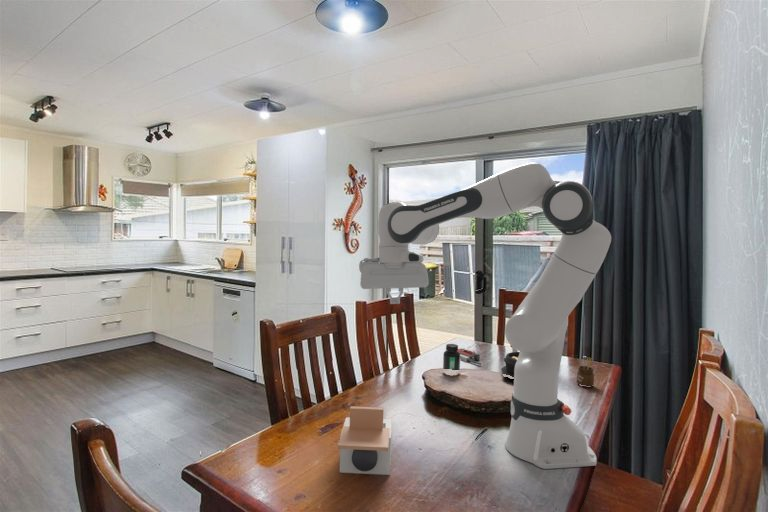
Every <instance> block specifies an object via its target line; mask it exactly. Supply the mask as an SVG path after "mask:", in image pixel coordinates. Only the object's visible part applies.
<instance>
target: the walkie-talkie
mask: <svg viewBox="0 0 768 512" xmlns="http://www.w3.org/2000/svg"><path fill="white" fill-rule="evenodd" d="M458 352H459V353H460V359H461V360H460V361H462V360H463V361H462V362H465V361H466V362H465V363H468V362H470V363H473V364H475V365H476V364H477V365H479V366H481V365H482V363H481V362H478V361H480V360H479V359H480V358H481V355H480V353H476V351H475V350H473V349H470V348H467V349H466V348H465V347H464V348H462V347H461V348H458ZM474 360H475V361H474ZM467 361H468V362H467Z"/></svg>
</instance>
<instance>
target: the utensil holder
mask: <svg viewBox="0 0 768 512" xmlns="http://www.w3.org/2000/svg"><path fill="white" fill-rule="evenodd" d="M584 359H586V362H585V361H582V363H583V364H582V365H579V366H578V369H577V372H576V384H577V383H578V384H581V385H586V386H592V385H593V386H594V383H595V382H594V381H595V376H594V375H595V374H594V368H593V367H591V364H592V357H587V356H584ZM584 362H585V363H584Z"/></svg>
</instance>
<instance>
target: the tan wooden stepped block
mask: <svg viewBox="0 0 768 512" xmlns="http://www.w3.org/2000/svg"><path fill="white" fill-rule="evenodd" d="M349 417H350V426H344V425H343V426H344V427H343V426H342V429H343V430H342V429H341V432H342V433H341V432H340V435H341V436H340V437H339V440H338V443H337V449H338V450H340V449H355V450H377V451H388V446H389V432H390V428H383V419H384V407H374V406H373V407H372V406H354V405H353V406H352V405H351V406H350V407H349Z"/></svg>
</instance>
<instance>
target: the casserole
mask: <svg viewBox="0 0 768 512" xmlns="http://www.w3.org/2000/svg"><path fill="white" fill-rule="evenodd" d="M519 353H520V351H512V352H508V353H506V355H505V357H504V358H503V361H504V363H505V366H502V367H501V375H502V374H506V375H510V376H512V377H514V369H515V364H516V362H517V359H518V356H519Z"/></svg>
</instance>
